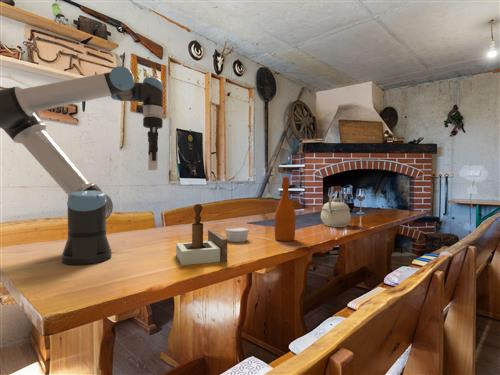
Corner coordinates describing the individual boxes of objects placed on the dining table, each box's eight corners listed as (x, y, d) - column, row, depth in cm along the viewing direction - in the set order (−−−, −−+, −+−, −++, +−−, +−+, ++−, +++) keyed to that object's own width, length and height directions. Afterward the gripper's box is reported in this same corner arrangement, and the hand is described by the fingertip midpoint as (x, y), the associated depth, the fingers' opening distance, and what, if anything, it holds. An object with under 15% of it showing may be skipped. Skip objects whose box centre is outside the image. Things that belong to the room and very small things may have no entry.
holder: (181, 265, 96) (181, 251, 96) (176, 255, 108) (176, 243, 108) (220, 261, 101) (220, 248, 101) (210, 252, 113) (211, 240, 113)
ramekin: (236, 236, 146) (236, 226, 146) (253, 240, 139) (253, 229, 139) (220, 240, 138) (220, 229, 138) (237, 244, 131) (238, 232, 130)
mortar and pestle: (190, 258, 100) (190, 205, 100) (185, 253, 106) (186, 203, 106) (209, 256, 103) (209, 204, 103) (203, 251, 109) (204, 203, 108)
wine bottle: (298, 239, 142) (299, 177, 142) (289, 242, 134) (291, 176, 133) (280, 236, 148) (281, 176, 147) (270, 240, 139) (271, 176, 139)
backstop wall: (221, 262, 101) (221, 239, 100) (207, 249, 119) (208, 229, 119) (227, 262, 101) (227, 239, 101) (212, 249, 120) (212, 229, 120)
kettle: (327, 222, 202) (328, 185, 201) (354, 224, 191) (356, 186, 191) (312, 226, 182) (313, 186, 181) (342, 230, 171) (343, 187, 170)
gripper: (165, 112, 110) (165, 169, 111) (160, 123, 133) (159, 170, 134) (144, 110, 107) (143, 168, 108) (142, 122, 130) (142, 170, 131)
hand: (152, 170), depth 121 cm, fingers open, 13 cm apart
